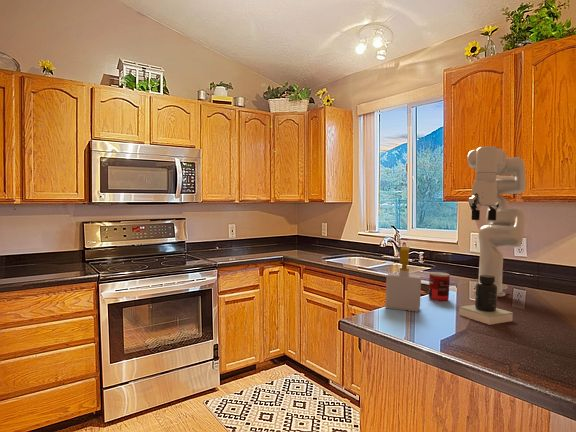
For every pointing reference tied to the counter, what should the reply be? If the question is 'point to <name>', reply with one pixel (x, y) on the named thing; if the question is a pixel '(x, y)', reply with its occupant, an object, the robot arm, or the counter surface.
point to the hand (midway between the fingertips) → (483, 220)
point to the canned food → (439, 286)
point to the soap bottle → (403, 287)
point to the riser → (486, 315)
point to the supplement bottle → (486, 294)
